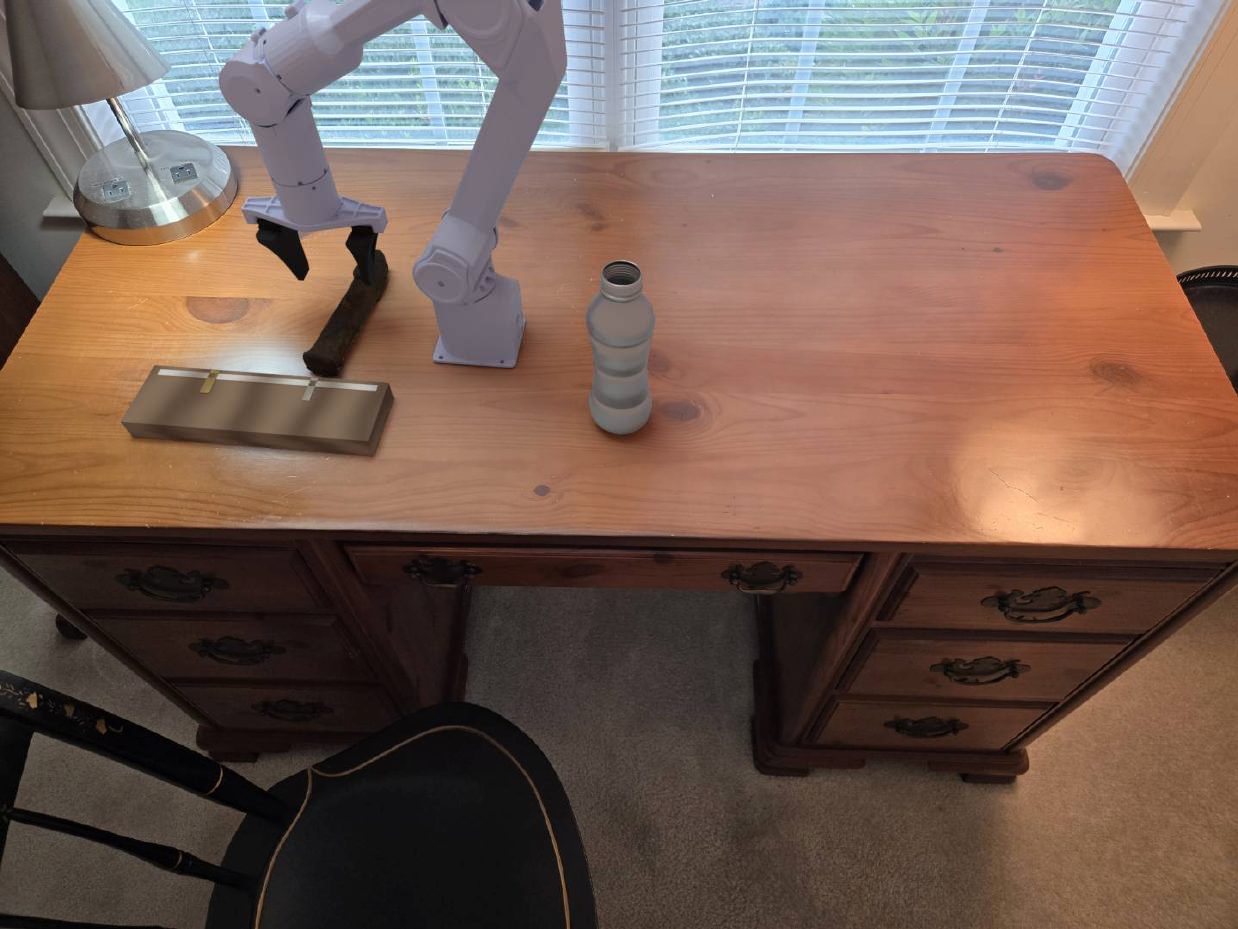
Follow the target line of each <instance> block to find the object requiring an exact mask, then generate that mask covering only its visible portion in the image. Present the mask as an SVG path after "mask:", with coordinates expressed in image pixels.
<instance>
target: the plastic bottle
mask: <svg viewBox="0 0 1238 929" xmlns="http://www.w3.org/2000/svg"><path fill="white" fill-rule="evenodd" d="M598 285H599V291H598V292H597V293H596V294H595V295H594V296H593V297H592V298H591V300H589V304H588V306H587V309H586V312H585V323H586V329H587V333H588V338H589V341H590V342H589V343H590V345H591V353H592V360H593V361H592V363H593V374H592V375H593V376H592V385H591V388H590V392H589V401H588V406H589V410H590V414H591V416H592V419H593V420H594V422H595V423H596V424H597V425H598V426H599V427H600V428H601V429H603V430H604V431H606V432H608V433H611V434H614V435H620V436H621V435H629V434H632V433H634V432H637V431H638V430H640V429H641V428H643V427H644V426H645V425H646V424H647V422H648V420H649V418H650V415H651V411H652V408H653V400H652V394H651V389H650V387H649V376H648V365H649V362H648V361H649V355H650V354H649V353H650V348H651V343H652V339H653V336H654V331H655V326H656V314H655V311H654V308H653V305H652V304H651V302H650V300H649V299H648V297H646V295H645V294H644V293H643V291H644V283H643V271H642V269H641V266H639V264H636V263H635V262H633V261H630V260H627V259H626V260H625V259H616V260H615V259H614V260H610V261H609V262H607V263H605V264H604V265H603V266H602V268H601V270H600V281H599V284H598Z"/></svg>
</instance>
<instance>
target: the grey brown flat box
mask: <svg viewBox="0 0 1238 929" xmlns="http://www.w3.org/2000/svg"><path fill="white" fill-rule="evenodd" d="M136 393H137V394H136V395H135V397H134V398H133V400H132V401H131V403H130V405H129V407H128V408H127V410H126V411H125V414H124V415H123V417H122V419H121V420H120V423H121V424H122V426H123V427H124V428H125V429H126V431H127V432H128V433H129V434H130V436H132V437H133V438H143V439H144V438H145V439H158V440H169V441H180V442H181V441H183V442H195V443H209V444H218V445H219V444H220V445H229V446H231V445H232V446H243V447H244V446H245V447H246V446H247V447H258V448H272V449H282V450H283V449H284V450H292V451H293V450H294V451H296V450H297V451H306V452H307V451H309V452H322V453H333V454H334V453H335V454H346V455H356V456H370V457H371V456H372V457H374V456H375V454H376V451H377V448H378V445H379V442H380V439H381V437H382V434H383V431H384V427H385V425H386V422H387V419H388V416H389V414H390V410H391V408H392V404H393V401H394V398H395V397H394V394H393V391H392V388H391V385H390V383H389V382H384V381H372V380H371V381H369V380H359V379H346V378H345V379H344V378H335V377H322V376H321V377H319V376H316V377H315V376H306V375H291V374H290V375H289V374H277V373H266V372H253V371H239V370H226V369H223V370H222V369H212V368H200V367H199V368H198V367H197V368H196V367H187V366H174V365H173V366H171V365H158V364H154V365H153V366H152V368H151V370H150V372H149V374H148V375H147V377H146V379H145V380H144V381H143V384H142V385H141V386H140V388H139V391H138V392H136Z"/></svg>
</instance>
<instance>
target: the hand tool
mask: <svg viewBox="0 0 1238 929" xmlns="http://www.w3.org/2000/svg"><path fill="white" fill-rule="evenodd" d="M387 262H388V261H387V259H386V255H385V253H384V252H383V251H382V250H381V249H377V248H376V251H375V270H376V276H375V278H374V281H373V283H372V285H371V286H367V285H365V284H364V283H363V281H362V278H361V275H360V271H359V268H358V265H357V264H356V265H355V267H354V269H353V270H352V277H353V279H352V281H351V283H350V284H349V287H348V289H347V291H346V292H345V294H344V295H343V296H342V299H340V302H339V303H338V305H337V307H336V308H335V309H334V311H333V312H332V314H331V316H330V317H329V318H328V320H327V322H326V324H325V326H324V327H323V329H322V330H321V331H320V334H319V336H318V338H317V339H316V340H315V342H313V345H312V347H311V348H309V349H308V350H307V351H304V352H303V353H302V358H301V359H302V360H303V363H304V365H305V366H306V367H305V368H306V369H307V370H308V371H309V372H311V373H312V374H313V375H314V376H321V377H322V378H336V377H339V375H340V370H339V369H340V368H342V367H343V366H344V361H345V360H344V359H345V357H346V355H347V353H348V352H349V351H350V348H351V346H352V345H353V343H354V340H355V338H356V337H357V335H358V333H360V332H361V328H362V326H363V325H364V323H365V322H366V319H367V317H368V316H369V314H370V312H371V310H372V309H373V307H374V305H375V303H377V302H380V301H381V300H382V299H383V296H384V293H385V291H386V286H387V282H388V277H389V271H390V270H389V264H388V263H387Z"/></svg>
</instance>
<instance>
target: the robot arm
mask: <svg viewBox="0 0 1238 929" xmlns="http://www.w3.org/2000/svg"><path fill="white" fill-rule="evenodd" d="M283 13H284V15H285V16H286V17H285V18H284V19H282V20H281V21H279V22H278V23H276V24H275V25H273V26H272V27H271V28H269V29H267V28H266V27H265V26H263V25H262V26H261V27H259V28H257V29H256V30H255V31H254V32H253V33H252V34H251V35H250V40H249V41H248V42H246V43H245V45H243V46H242V47H241V48H240V50H238V51H237V52H236V53H235V54H234V55H233V56H232V57H231V58H229V59H228V60H226V62H225V64H224V66H223V67H222V68H221V70H220V71H219V75H218V87H219V90H220V92H221V95H222V96H223V98H224V99H225V101H226V103H227V104H228V105H229V107H230V108H231V110H233V111H234V112H235V113H236V114H237V115H238V116H240V117H241V118H243V119H244V120H246V121H247V122H248V125H249V128H250V130H251V133H252V135H253V137H254V139H255V140H254V141H255V142H256V145H257V147H258V151H259V153H260V155H261V157H262V158H261V159H262V161H263V163H264V166H265V168H266V171H267V173H268V176H269V178H270V181H271V183H272V186H273V189H274V191H275V194H276V195H269V196H260V197H259V196H258V197H251V196H250V197H249V196H248V197H246V199H245V201H244V202H243V205H242V206H241V207H240V210H241V213H242V215H243V216H244V219H245V222H246V224H247V225H258V226H257V232H256V233H255V238H256V241H257V242H258V244H260V245H262V246H263V247H265V248H267V249H268V250H269V251H270V252H271V253H273V254H274V255H276V256H277V257H278V259H279V260H281V261H282V262H283V264H284V265H286V267H287V268H288V269H289V271H290V272H291V274H293V276H295V278H296V279H297V280H298V281H299V282H300V281H301V282H302V281H303V282H304V281H305V280H306V277H307V275H308V273H309V271H310V265H309V261H308V258H307V255H306V253H305V250H304V247H303V244H302V242H301V238H300V235H299V232H303V233H314V232H322V231H323V232H324V231H329V230H335V229H336V230H337V229H344V228H351V232H349V235H348V237H347V239H346V241H345V243H344V245H345V248H346V249H347V250H348V251H349V252H350V254H351V255H352V257H353V259H354V260H355V262H356V265H358V268H359V271H360V275H361V278H362V281H363V283H364V284H365V285H367V286H371V285H372V283H373V281H374V278H375V276H376V270H375V251H376V249H377V244H378V243H377V242H378V237H379V234H384V233H385V230H386V228H387V225H388V223H389V220H388V217H387V214H386V209H385V206H381V205H374V204H370V203H367V202H363V201H360V200H357V199H354V198H351V197H348V196H345V195H342V194H339V193H338V189H337V185H336V184H335V179H334V177H333V173H332V171H331V170H332V169H331V167H330V165H329V161H328V158H327V155H326V153H325V149H324V146H323V142H322V139H321V136H320V134H319V130H318V125H317V123H316V120H315V117H314V113H313V110H312V107H314V106H313V102H312V99H311V96H312V95H314V94H316V93H318V92H319V91H321V90H323V89H324V88H326V87H328V86H329V85H331V84H333V83H334V82H336V81H338V80H340V79H341V78H343V77H345V76H347V75H348V74H350V73H351V72H353V71H356V69H358V68H359V67H360V65H361V63H362V61H363V58H364V45H366V44H367V43H369V42H371V41H372V40H375V39H377V38H379V37H381V36H383V35H384V34H386V33H388V32H391V31H392V30H394V29H395V28H398V27H399V26H401V25H404V24H405V23H406V22H408V21H411V20H413V19H414V18H416V17H418V16H420V15H421V16H424V18H426V19H427V21H429V22H430V23H431V24H432V25H433V26H434V27H435V28H436V29H438V30H440V31H445V30H446V29H447V28H448V26H450V27H451V28H452V29H453V31H454V32H456V34H457V35H458V36H459V37H460V38H461V39H462V41H463V42H464V43H465V44H466V45H467V46H468V47H469V48H470V49H471V50H472V51H473V53H475V55H476V56H477V57H478V58H479V59H480V60H481V61H482V62H483V63H484V64H485V65H486V66H487V68H489V70H490V71H491V72H492V73H493V74H494V75H495V76H496V77H497V78H498V83H497V85H496V88H495V89H494V93H493V95H492V97H491V100H490V103H489V106H488V108H487V111H486V113H485V115H484V117H483V121H482V124H481V127H480V128H479V131H478V133H477V136H476V139H475V141H474V144H473V147H472V149H471V152H470V154H469V157H468V160H467V162H466V164H465V167H464V170H463V172H462V175H461V177H460V180H459V182H458V185H457V188H456V190H455V193H454V195H453V198H452V201H451V204H450V206H449V207H448V208H447V209H446V210H445V211H444V213H443V214H442V216H441V221H440V223H439V224H438V226H437V228H436V230H435V231H434V233H433V234H432V236H431V238H430V240H429V241H428V243H427V245H426V247H425V248H424V250H423V252H422V254H421V255H420V256H419V257H418V258H416V261H415V262H414V264H413V266H412V272H411V273H412V278H413V281H414V283H415V285H416V286H417V288H418V289H419V290H420V292H422V293H423V294H424V296H426V297H428V298H429V299H430V301H431V303H432V306H433V310H434V315H435V319H436V323H437V328H438V331H439V335H438V338H437V342H436V345H435V348H434V352H433V355H432V361H433V363H438V364H439V363H442V364H453V365H454V364H455V365H469V366H483V367H493V368H507V369H508V368H510V369H511V368H514V367H516V365H517V360H518V356H519V352H520V348H521V342H522V339H523V335H524V329H525V327H526V318H525V316H524V310H523V309H524V308H523V301H522V300H523V299H522V292H521V286H520V282H519V279H516V278H512V277H507V276H505V275H502V274H500V273H498V272H496V270H495V267H494V264H493V257H492V253H493V251H494V250H495V249H496V248H497V245H498V244H499V239H500V233H499V227H498V225H499V224H498V222H499V219H500V217H501V215H502V214H503V213H502V211H503V209H504V207H505V204H506V203H507V200H508V198H509V196H510V194H511V191H512V189H513V187H514V186H515V183H516V180H517V179H518V176H519V174H520V172H521V170H522V168H523V165H524V163H525V161H526V159H527V157H528V155H529V153H530V150H531V148H532V146H533V144H534V141H535V140H536V138H537V135H538V134H539V131H540V129H541V127H542V124H543V123H544V120H545V118H546V116H547V114H548V113H549V112H548V111H549V109H550V107H551V106H552V103H553V100H554V99H555V96H556V94H557V92H558V90H559V88H560V86H561V84H562V81H563V79H564V78H565V75H566V71H567V68H568V52H567V46H566V44H567V43H566V35H565V25H564V18H563V16H564V15H563V6H562V0H344V1H342V2H341V3H340V4H337V3H336V2H334V1H332V0H309V1H308V2H305V1H304V0H293V2H291V3H290V4H288V6H287V7H286V8H285V9H284V10H283Z"/></svg>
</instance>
